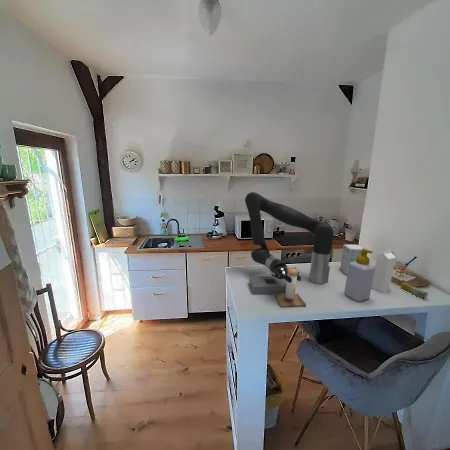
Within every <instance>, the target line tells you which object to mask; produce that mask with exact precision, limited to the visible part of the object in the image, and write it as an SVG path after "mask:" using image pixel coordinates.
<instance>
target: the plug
mask: <svg viewBox="0 0 450 450" xmlns="http://www.w3.org/2000/svg"><path fill="white" fill-rule="evenodd" d="M298 271H299V269H298V268H297V267H295V268H293V267H289V268H288V271H287V274H288V276H289V277H291V278H292V282H291V283H289V282H288V281H287V284H286V293H285V297H286V298H288V299H294V298H295V294H296V289H297V281H298V280H297V275H298Z"/></svg>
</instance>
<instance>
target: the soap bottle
mask: <svg viewBox="0 0 450 450" xmlns="http://www.w3.org/2000/svg"><path fill="white" fill-rule="evenodd" d="M368 254H373V251H372V250H370V249H368V248H364V247H362V251H361V255H359V256H358V257H357V259H356V261H354V262H351V263H350V264H349V267H348V273H347V275H346V281H345V285H344V291H343V293H344V295H345V296H347V297H349V298H351V299H353V300H354V301H357V302H363V301H366V300H369V299H370V296H371V292H372V282H373V277H374V272H375V265H374V264H372V263H371V262H370V261H371V260H370V258H369V257H368Z"/></svg>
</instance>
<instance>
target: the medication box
mask: <svg viewBox="0 0 450 450" xmlns="http://www.w3.org/2000/svg"><path fill="white" fill-rule="evenodd" d="M401 289H403V290H405V291H407V292H409V293H411V294H412V295H411V294H410V295H411V296H413V295H415V296H416V298H417V297H419V298H421V299H423V300H422V301H426V300H427V299H428V296H429V292H427V291H425V290H422V289H420V288H418V287H417V286H416V287H415V286H413V285H411V284H410V283H407V282H401V285H400V290H401ZM403 290H402V291H403ZM405 291H404V292H405ZM407 292H406V293H407ZM409 293H408V294H409ZM415 296H414V297H415ZM419 298H418V299H419ZM421 299H420V300H421ZM425 299H426V300H425Z"/></svg>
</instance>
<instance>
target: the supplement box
mask: <svg viewBox="0 0 450 450" xmlns="http://www.w3.org/2000/svg"><path fill="white" fill-rule="evenodd" d="M362 248H363V247H362V246H360V245H359V244H345V243H344V244H343V247H342V254H341V259H340V266H339V269H340V271H341V272H342V273H343V274H345V275H346V276H347V273H348V267H349V264H350V263H351V262H354V261H356V259H357V257H358V256H359V255H361V251H362Z"/></svg>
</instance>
